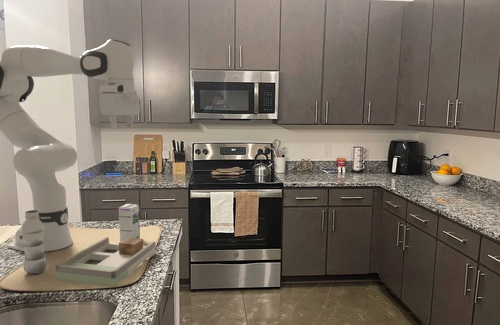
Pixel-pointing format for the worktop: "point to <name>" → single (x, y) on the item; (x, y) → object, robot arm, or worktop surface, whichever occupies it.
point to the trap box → (102, 264)
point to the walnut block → (130, 246)
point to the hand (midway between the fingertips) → (122, 128)
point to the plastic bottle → (33, 243)
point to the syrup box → (129, 221)
